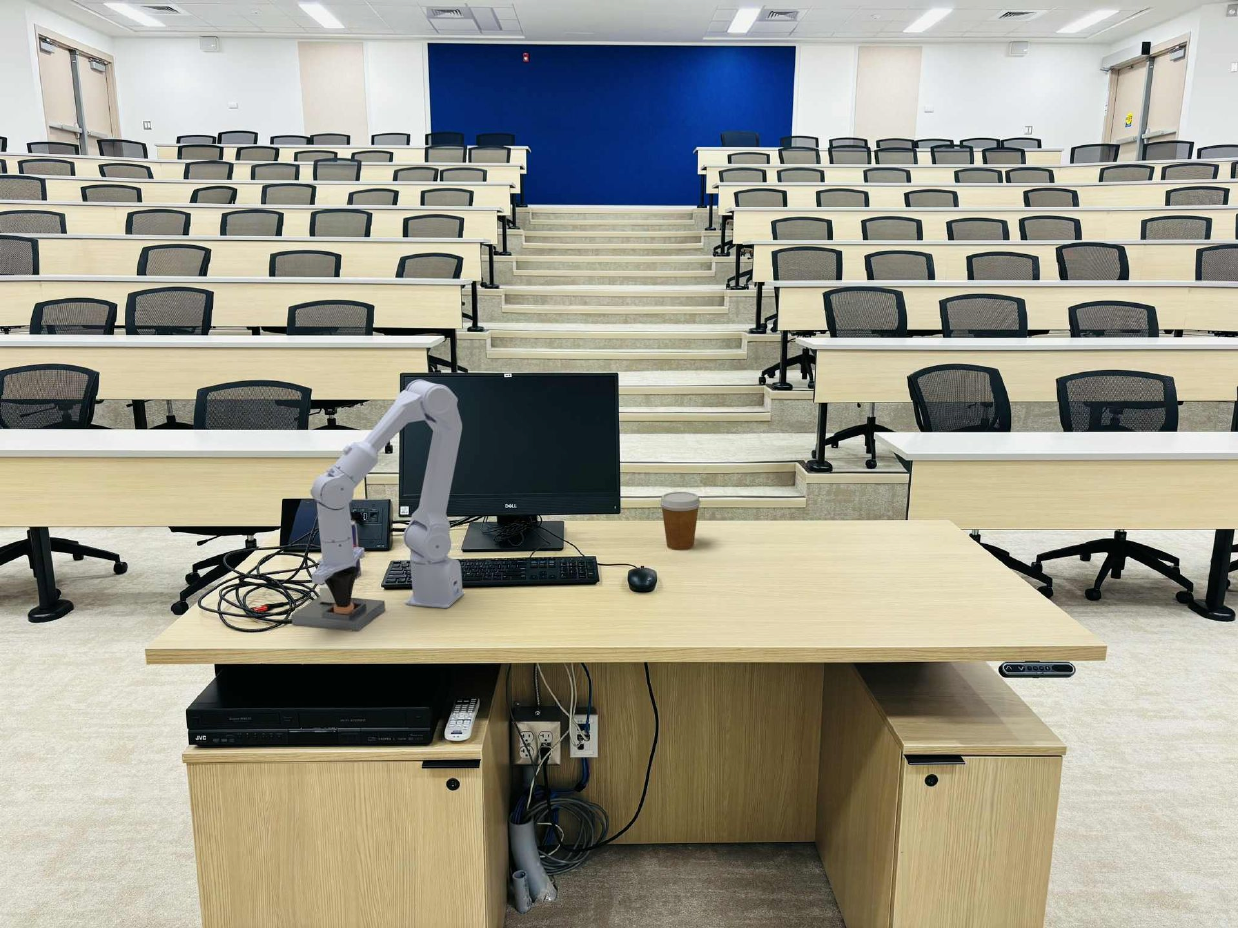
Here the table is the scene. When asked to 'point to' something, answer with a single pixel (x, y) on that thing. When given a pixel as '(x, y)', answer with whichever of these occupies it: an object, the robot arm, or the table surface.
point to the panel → (338, 614)
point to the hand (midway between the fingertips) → (343, 605)
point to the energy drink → (355, 544)
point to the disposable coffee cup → (680, 518)
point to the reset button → (344, 609)
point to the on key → (326, 594)
